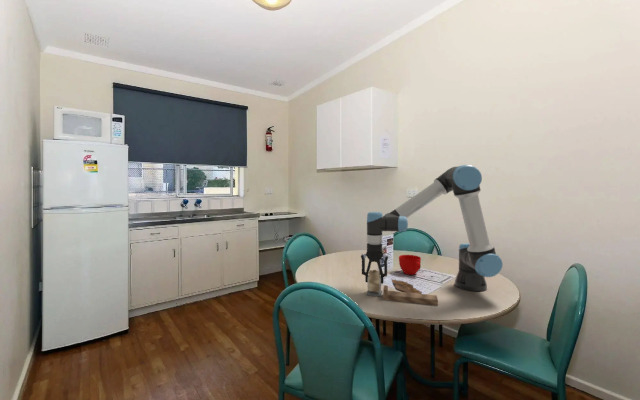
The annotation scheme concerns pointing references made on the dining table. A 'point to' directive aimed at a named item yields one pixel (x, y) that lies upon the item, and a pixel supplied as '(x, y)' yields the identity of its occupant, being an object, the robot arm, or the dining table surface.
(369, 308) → the dining table surface
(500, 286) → the dining table surface
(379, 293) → the mat
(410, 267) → the ceramic cup
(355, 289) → the dining table surface
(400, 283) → the wooden fragment
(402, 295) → the plank
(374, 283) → the cream tall block
